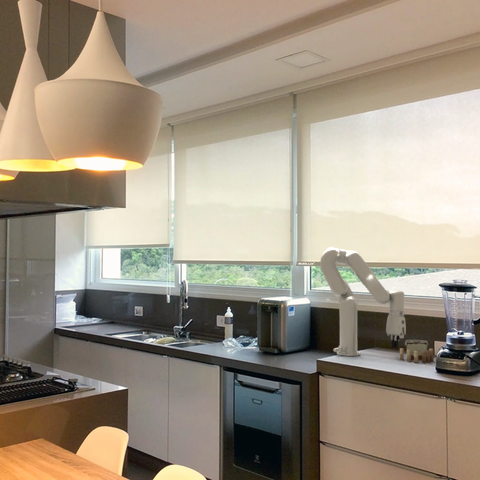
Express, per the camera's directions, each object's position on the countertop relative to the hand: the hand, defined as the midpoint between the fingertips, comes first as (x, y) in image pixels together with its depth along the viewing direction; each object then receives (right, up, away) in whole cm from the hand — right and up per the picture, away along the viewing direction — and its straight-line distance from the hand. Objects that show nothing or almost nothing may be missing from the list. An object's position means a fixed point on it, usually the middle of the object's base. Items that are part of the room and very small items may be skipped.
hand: (394, 347), depth 299 cm
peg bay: (+9, -4, -12) cm, 16 cm away
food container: (+8, -5, -9) cm, 13 cm away
